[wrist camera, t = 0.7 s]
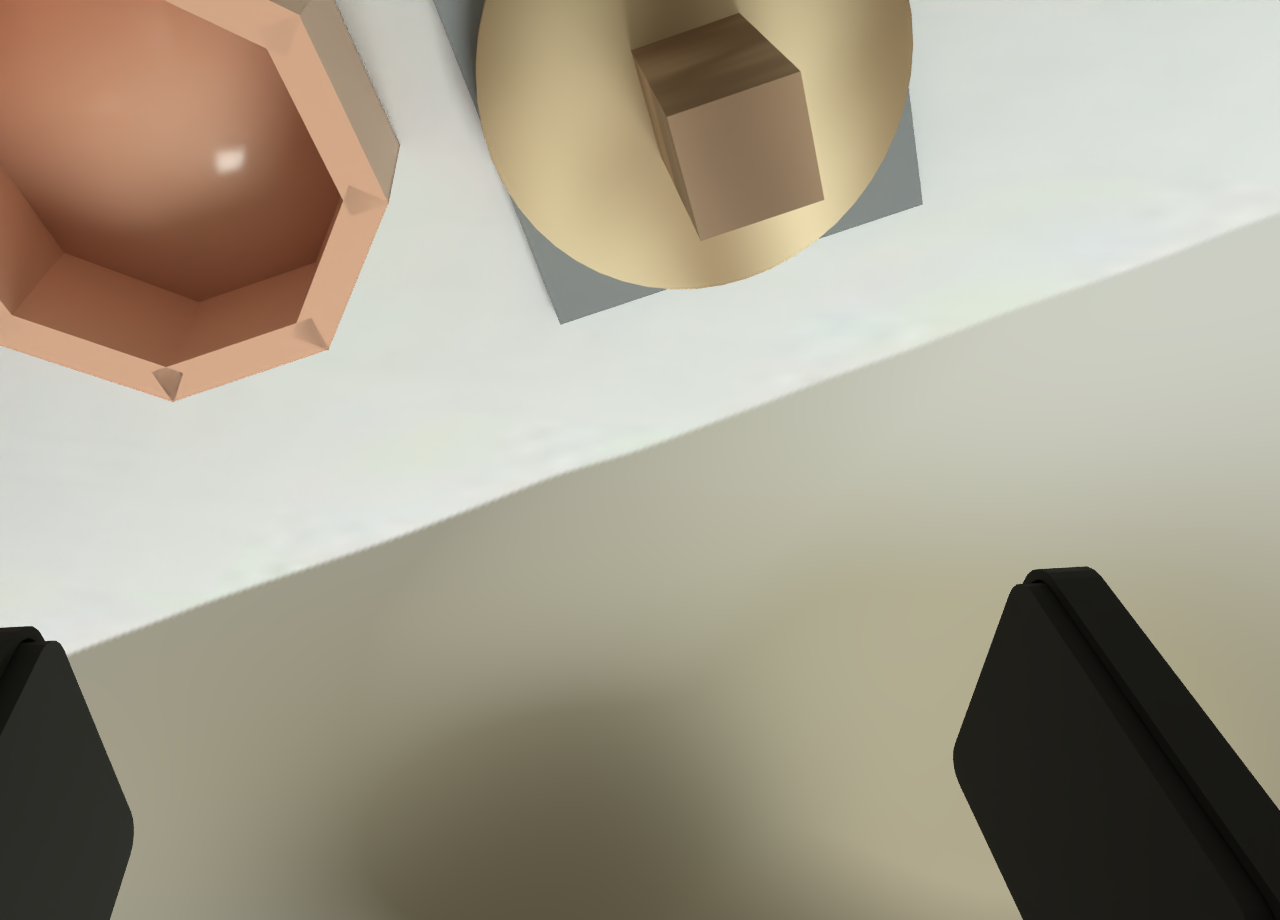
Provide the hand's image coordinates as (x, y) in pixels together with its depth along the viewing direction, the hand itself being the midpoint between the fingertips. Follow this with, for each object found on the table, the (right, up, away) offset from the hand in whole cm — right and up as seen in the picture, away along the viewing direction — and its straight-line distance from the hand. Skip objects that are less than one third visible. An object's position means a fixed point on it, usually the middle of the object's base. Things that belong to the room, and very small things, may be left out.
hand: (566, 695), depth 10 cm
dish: (-12, +11, +17) cm, 24 cm away
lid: (+2, +13, +17) cm, 22 cm away
